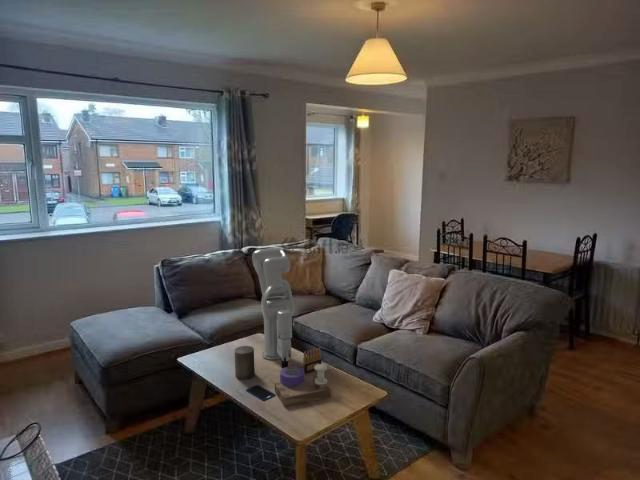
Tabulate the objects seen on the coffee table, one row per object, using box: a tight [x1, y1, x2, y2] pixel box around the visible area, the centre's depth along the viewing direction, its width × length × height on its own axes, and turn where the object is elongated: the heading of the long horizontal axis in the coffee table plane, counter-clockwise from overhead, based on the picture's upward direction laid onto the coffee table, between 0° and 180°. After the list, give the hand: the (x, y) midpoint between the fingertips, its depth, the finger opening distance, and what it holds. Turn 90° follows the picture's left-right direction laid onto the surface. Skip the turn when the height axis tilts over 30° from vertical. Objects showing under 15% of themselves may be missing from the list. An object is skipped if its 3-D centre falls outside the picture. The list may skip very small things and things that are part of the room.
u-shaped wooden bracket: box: [274, 375, 331, 408], centre depth 213 cm, size 14×22×4 cm, turn 112°
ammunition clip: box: [302, 346, 322, 375], centre depth 236 cm, size 11×2×12 cm, turn 125°
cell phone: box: [245, 384, 277, 402], centre depth 215 cm, size 7×14×1 cm, turn 46°
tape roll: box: [279, 366, 305, 388], centre depth 226 cm, size 12×12×5 cm
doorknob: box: [314, 363, 328, 385], centre depth 216 cm, size 6×6×8 cm
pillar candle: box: [233, 345, 256, 380], centre depth 231 cm, size 10×10×15 cm
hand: (284, 368), depth 236 cm, fingers closed
